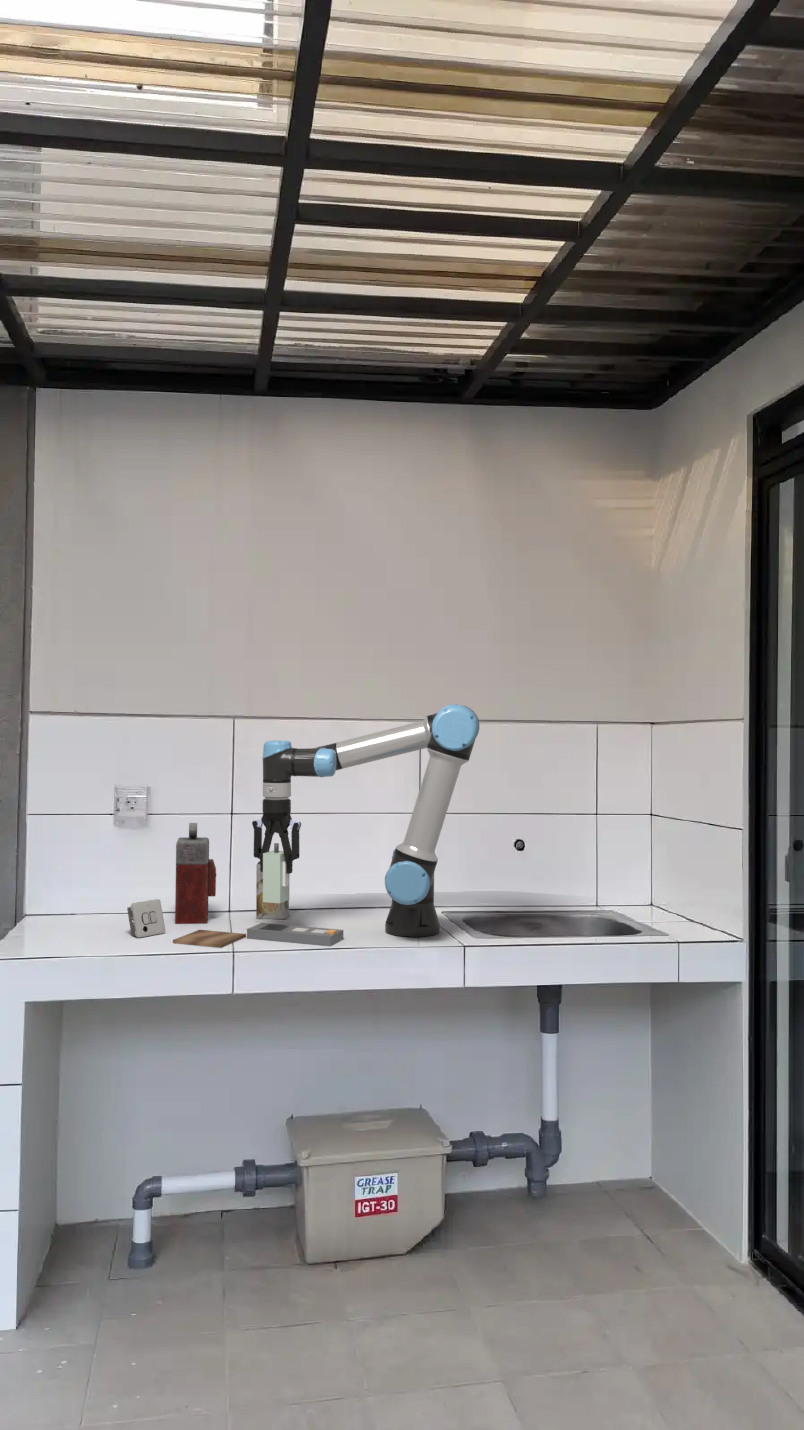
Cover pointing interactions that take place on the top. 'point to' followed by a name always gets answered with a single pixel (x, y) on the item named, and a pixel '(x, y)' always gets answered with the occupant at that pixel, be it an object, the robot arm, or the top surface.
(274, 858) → the pale green block
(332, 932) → the power strip
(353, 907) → the top surface
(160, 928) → the electrical switch
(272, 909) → the coffee box
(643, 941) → the top surface
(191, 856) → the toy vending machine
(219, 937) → the walnut pad
